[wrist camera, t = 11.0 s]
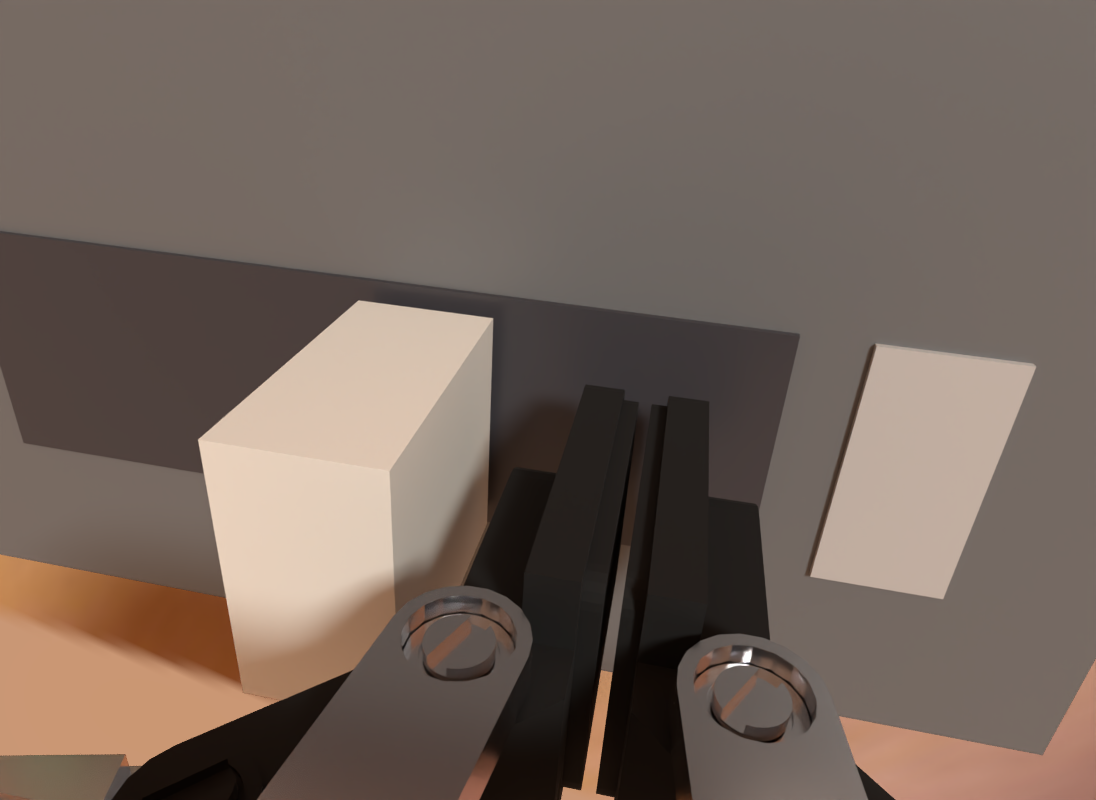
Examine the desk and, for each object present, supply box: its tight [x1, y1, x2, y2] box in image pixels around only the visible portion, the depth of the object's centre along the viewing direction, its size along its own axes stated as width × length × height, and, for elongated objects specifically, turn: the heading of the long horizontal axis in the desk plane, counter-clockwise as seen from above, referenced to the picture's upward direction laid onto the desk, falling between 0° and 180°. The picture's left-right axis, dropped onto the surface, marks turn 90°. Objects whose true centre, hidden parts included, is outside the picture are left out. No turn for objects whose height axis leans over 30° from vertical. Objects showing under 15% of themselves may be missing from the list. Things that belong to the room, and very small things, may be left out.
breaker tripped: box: [198, 300, 493, 700], centre depth 10 cm, size 2×4×4 cm, turn 176°
